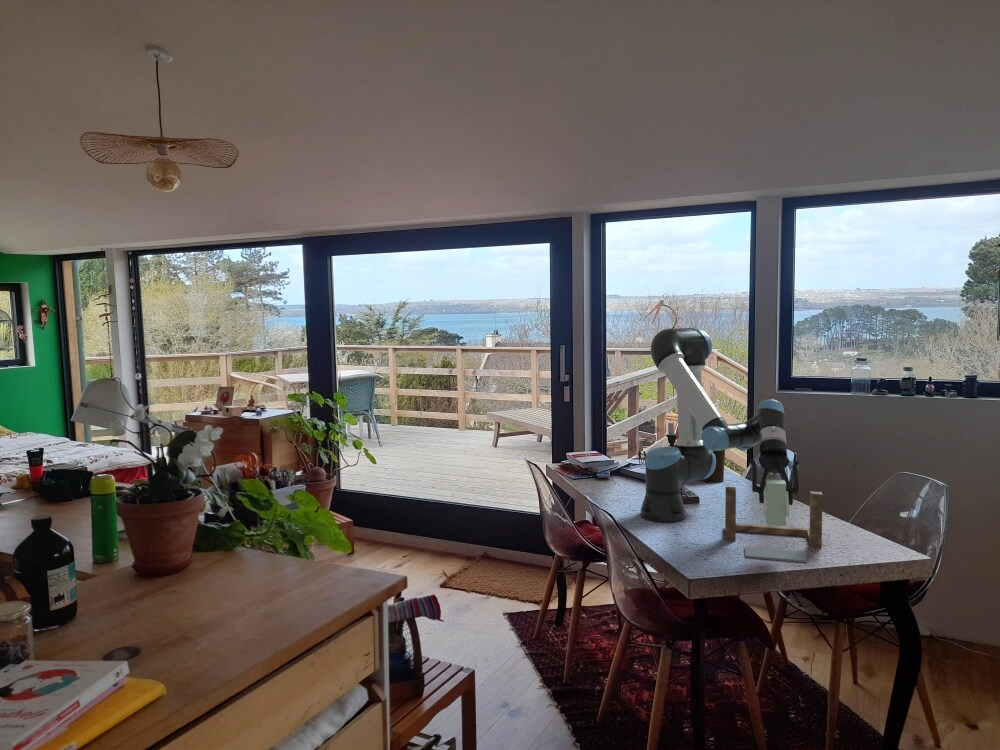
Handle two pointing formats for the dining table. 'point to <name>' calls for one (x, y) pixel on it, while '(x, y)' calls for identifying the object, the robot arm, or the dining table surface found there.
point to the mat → (775, 554)
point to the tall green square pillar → (776, 502)
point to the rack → (812, 534)
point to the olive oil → (717, 468)
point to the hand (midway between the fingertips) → (776, 513)
